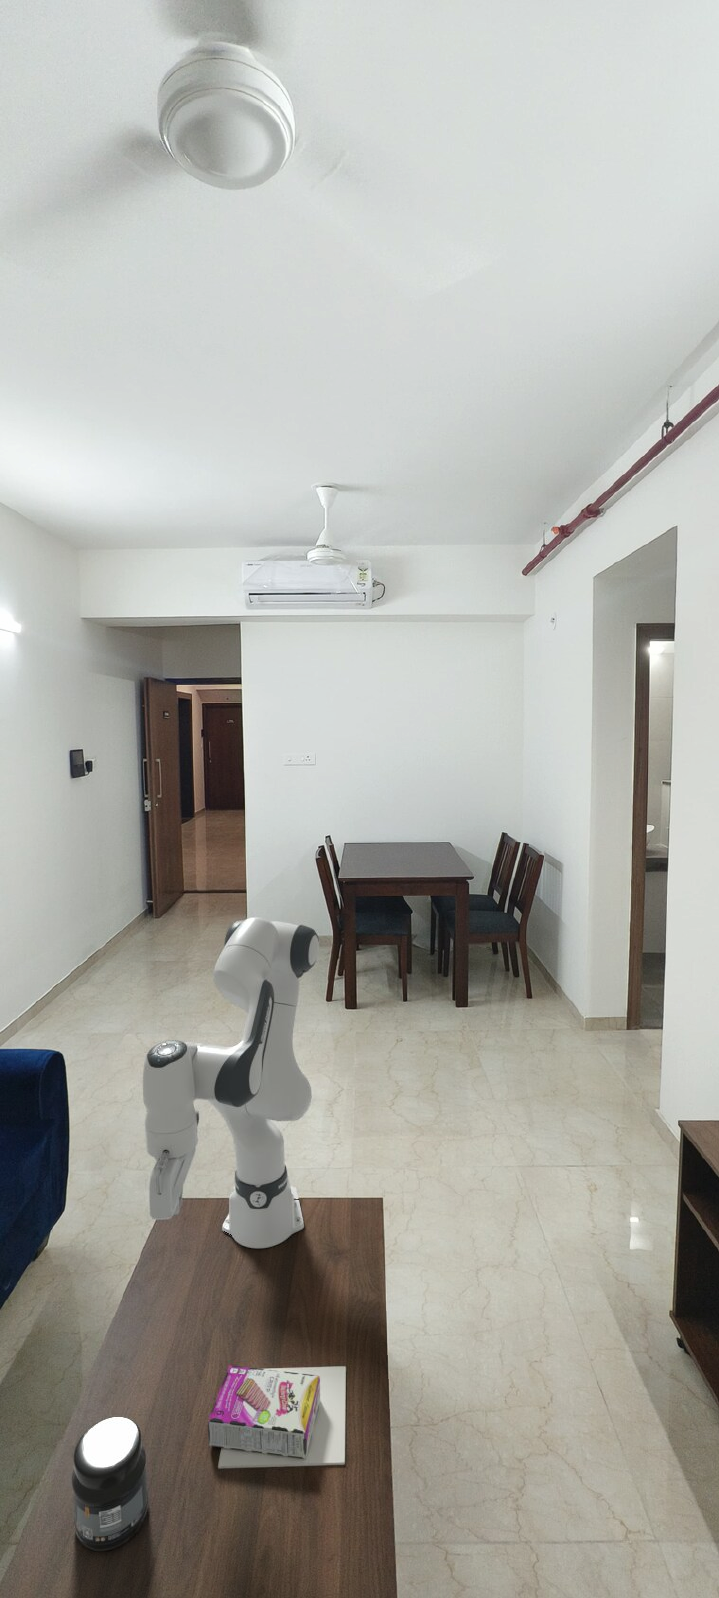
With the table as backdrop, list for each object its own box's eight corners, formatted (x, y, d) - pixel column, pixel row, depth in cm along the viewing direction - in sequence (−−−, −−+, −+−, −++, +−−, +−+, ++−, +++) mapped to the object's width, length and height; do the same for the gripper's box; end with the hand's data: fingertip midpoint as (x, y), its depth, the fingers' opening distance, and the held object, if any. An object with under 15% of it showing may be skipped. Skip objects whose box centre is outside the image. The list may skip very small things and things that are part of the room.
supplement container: (119, 1469, 122) (114, 1400, 120) (164, 1507, 116) (159, 1435, 114) (59, 1527, 113) (54, 1454, 112) (104, 1572, 107) (99, 1495, 106)
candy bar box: (228, 1362, 135) (320, 1373, 132) (229, 1388, 135) (320, 1399, 133) (206, 1420, 124) (306, 1433, 121) (207, 1448, 124) (307, 1461, 122)
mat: (235, 1371, 139) (235, 1369, 139) (345, 1368, 139) (345, 1366, 139) (218, 1468, 121) (218, 1466, 121) (344, 1464, 121) (344, 1462, 121)
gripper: (176, 1170, 125) (180, 1249, 126) (200, 1106, 145) (204, 1175, 147) (137, 1171, 125) (142, 1250, 126) (167, 1107, 145) (171, 1176, 147)
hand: (175, 1209), depth 137 cm, fingers closed
